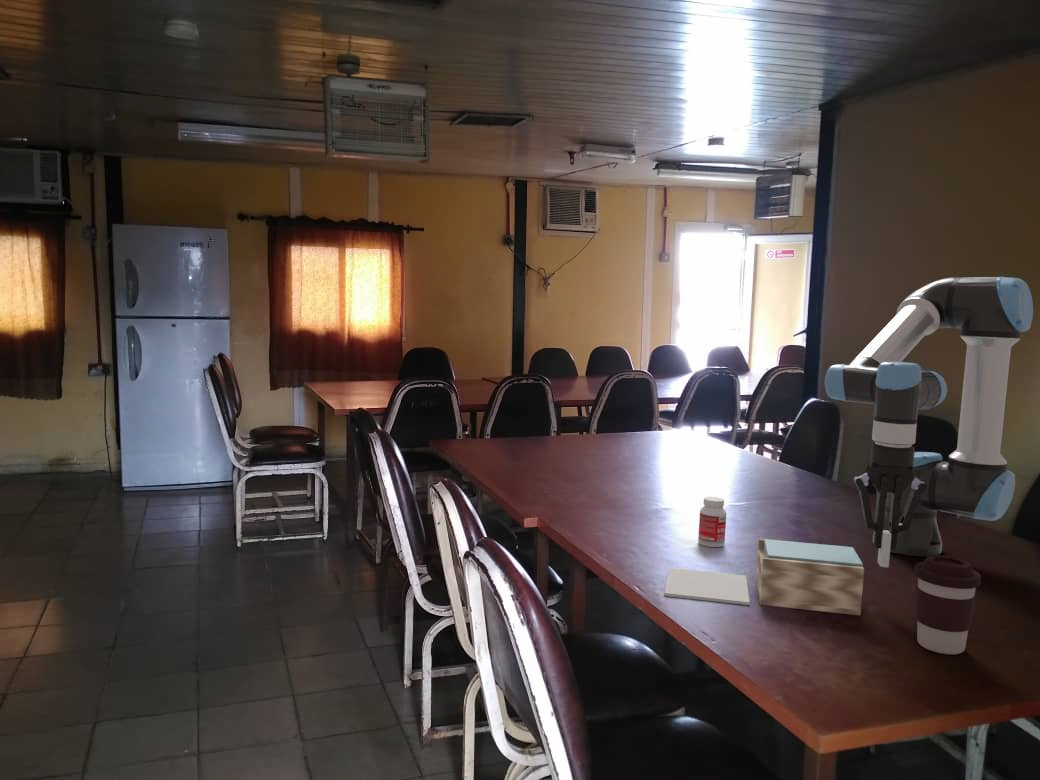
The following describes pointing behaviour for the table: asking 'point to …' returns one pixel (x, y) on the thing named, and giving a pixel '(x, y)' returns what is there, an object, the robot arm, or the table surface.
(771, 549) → the lid
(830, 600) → the box
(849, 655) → the table surface
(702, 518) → the pill bottle
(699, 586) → the mat
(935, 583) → the coffee cup
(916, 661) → the table surface
